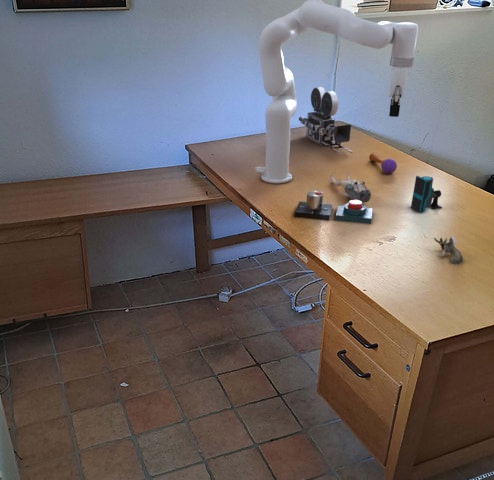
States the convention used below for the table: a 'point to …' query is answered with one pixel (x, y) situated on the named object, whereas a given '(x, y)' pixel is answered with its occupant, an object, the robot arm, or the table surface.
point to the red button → (355, 204)
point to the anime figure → (353, 189)
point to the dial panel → (313, 212)
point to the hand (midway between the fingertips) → (393, 113)
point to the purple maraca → (384, 163)
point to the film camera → (325, 121)
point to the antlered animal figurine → (450, 249)
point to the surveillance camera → (424, 194)
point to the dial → (314, 200)
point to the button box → (354, 214)
